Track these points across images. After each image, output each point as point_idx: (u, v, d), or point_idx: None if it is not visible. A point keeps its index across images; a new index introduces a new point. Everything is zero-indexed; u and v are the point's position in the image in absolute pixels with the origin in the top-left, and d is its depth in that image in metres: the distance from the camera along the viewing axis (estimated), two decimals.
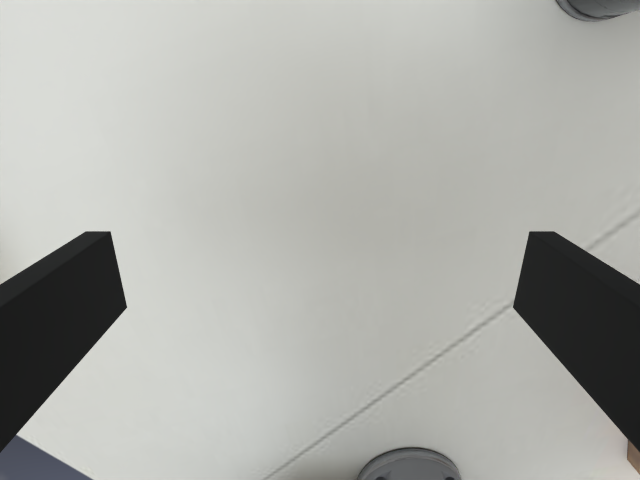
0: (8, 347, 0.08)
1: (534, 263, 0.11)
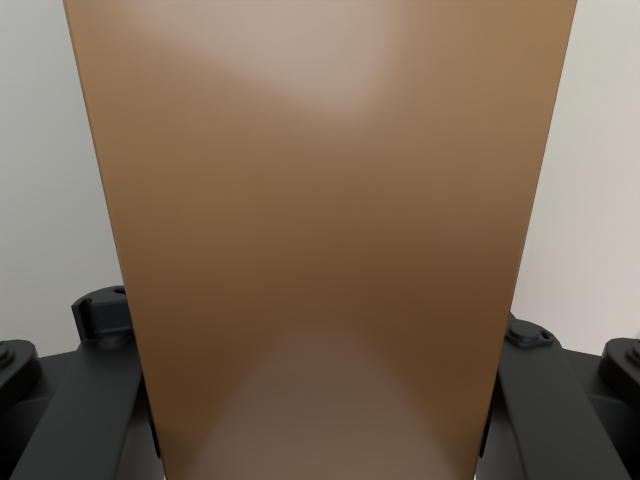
0: None
1: None
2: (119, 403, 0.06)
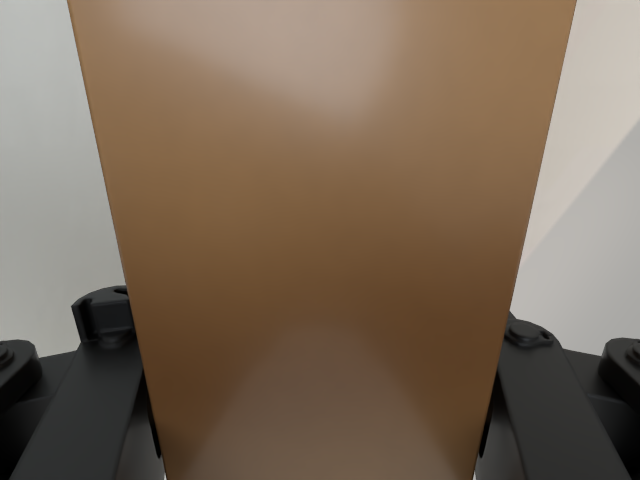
0: None
1: None
2: (119, 403, 0.06)
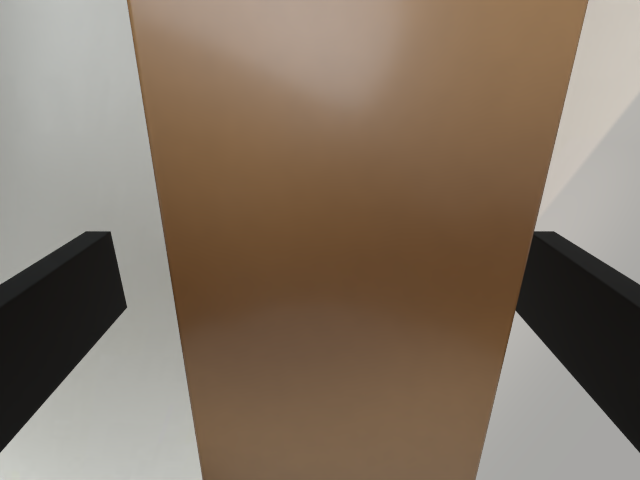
0: (8, 347, 0.08)
1: (534, 263, 0.11)
2: None
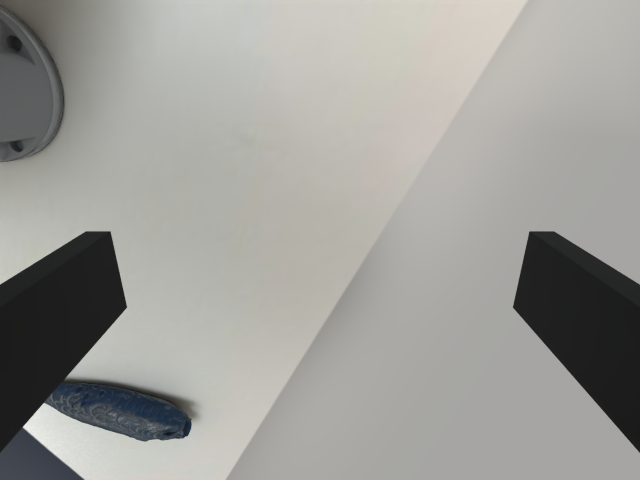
0: (8, 347, 0.08)
1: (534, 263, 0.11)
2: None
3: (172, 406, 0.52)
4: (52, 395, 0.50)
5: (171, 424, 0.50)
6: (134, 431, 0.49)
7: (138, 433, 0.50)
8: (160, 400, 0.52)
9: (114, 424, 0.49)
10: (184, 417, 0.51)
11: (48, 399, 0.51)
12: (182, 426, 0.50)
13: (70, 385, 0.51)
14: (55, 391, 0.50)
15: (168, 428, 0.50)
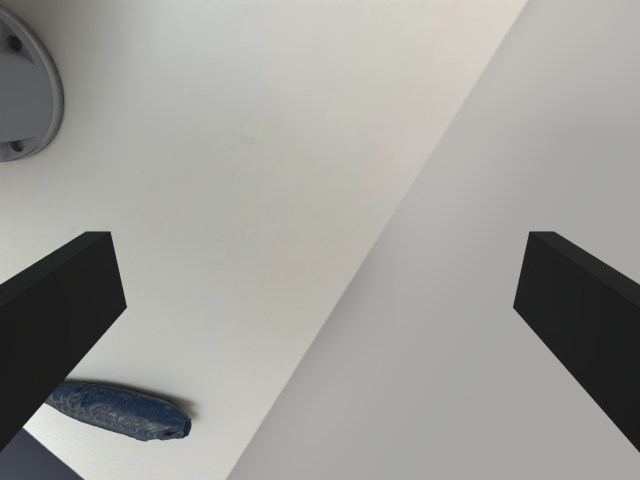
0: (8, 347, 0.08)
1: (534, 263, 0.11)
2: None
3: (172, 406, 0.52)
4: (52, 395, 0.50)
5: (171, 424, 0.50)
6: (134, 431, 0.49)
7: (138, 433, 0.50)
8: (160, 400, 0.52)
9: (114, 424, 0.49)
10: (184, 417, 0.51)
11: (48, 399, 0.51)
12: (182, 426, 0.50)
13: (70, 385, 0.51)
14: (55, 391, 0.50)
15: (168, 428, 0.50)
